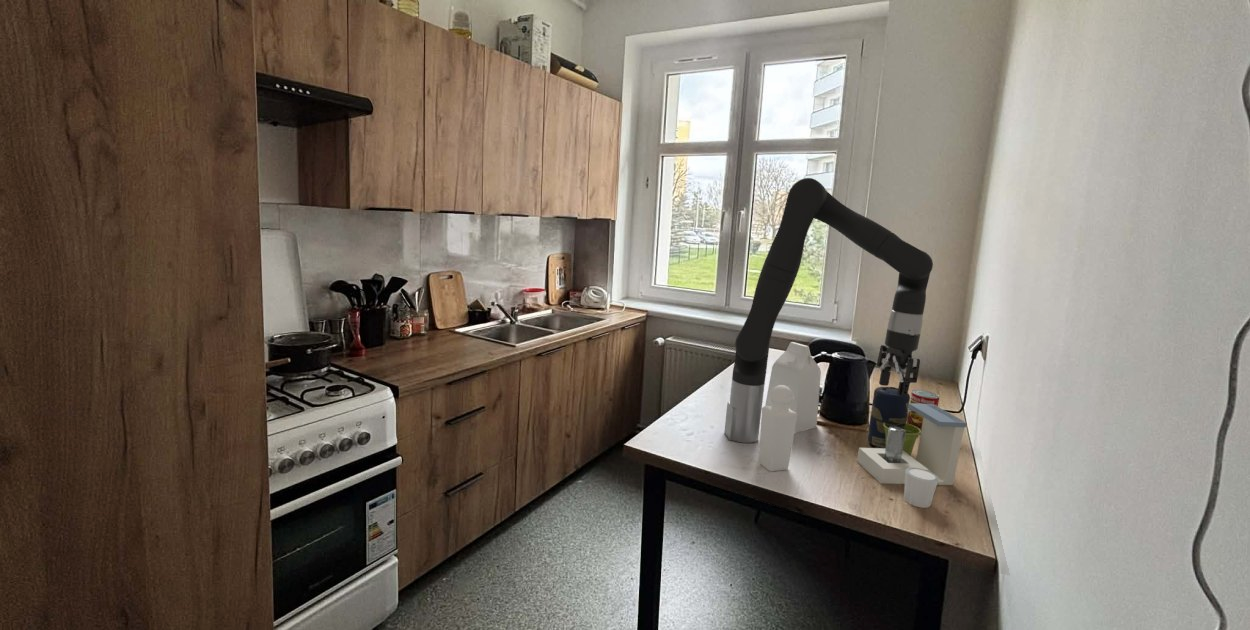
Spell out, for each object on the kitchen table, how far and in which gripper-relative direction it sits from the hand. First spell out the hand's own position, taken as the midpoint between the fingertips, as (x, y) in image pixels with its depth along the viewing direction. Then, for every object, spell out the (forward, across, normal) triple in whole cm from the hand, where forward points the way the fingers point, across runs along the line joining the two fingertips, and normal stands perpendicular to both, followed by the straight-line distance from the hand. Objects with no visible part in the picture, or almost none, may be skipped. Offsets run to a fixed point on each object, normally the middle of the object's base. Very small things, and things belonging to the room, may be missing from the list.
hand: (892, 390), depth 137 cm
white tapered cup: (+22, +16, +1) cm, 27 cm away
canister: (+22, -15, +10) cm, 28 cm away
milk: (+22, -30, -13) cm, 40 cm away
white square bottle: (+23, 0, -29) cm, 37 cm away
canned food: (+22, -29, +30) cm, 47 cm away
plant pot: (+22, -8, +10) cm, 25 cm away
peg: (+22, +2, +2) cm, 22 cm away
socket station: (+22, +2, +6) cm, 23 cm away
